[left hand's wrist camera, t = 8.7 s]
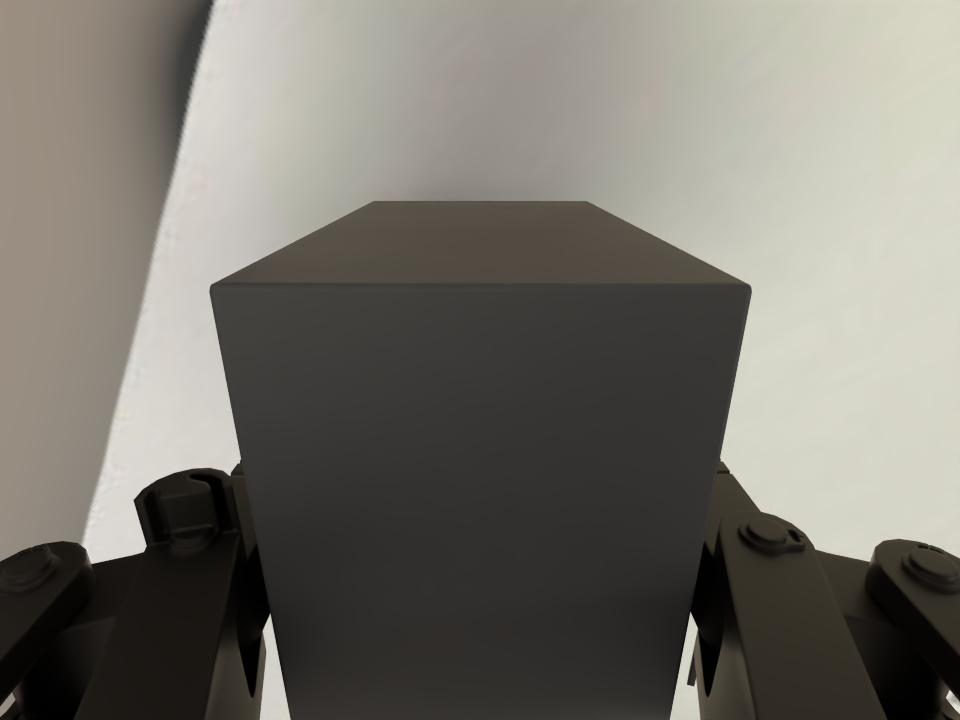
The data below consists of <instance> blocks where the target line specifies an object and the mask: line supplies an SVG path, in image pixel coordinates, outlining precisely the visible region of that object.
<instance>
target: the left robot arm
mask: <svg viewBox="0 0 960 720" xmlns="http://www.w3.org/2000/svg"><path fill="white" fill-rule="evenodd" d="M134 503H135V507H136V510H137V514H138V517H139V521H140V524H141V528H142V531H143V534H144V538H145V541H146V545H147V547H146V549H145V551H144V552H143V553H139V554H136V555H132V556H127V557H123V558H118V559H113V560H109V561H104V562H99V563H94V564H91V563H90V560H89V557H88V554H87V551H86V549H85V548H83V547H82V546H81V545H79V544H78V543H73V542H65V541H61V542H53V543H46V544H41V545H38V546H34V547H32V548H28V549H25V550H22V551H20V552H18V553H16V554H14V555H12V556H10V557H9V558H6V559H5V560H2V561H1V562H0V706H1V705H2V704H3V702H4V701H5V700H6V699H7V697H8V696H9V695H10V694H11V693H13V695H14V697H15V699H16V700H15V701H14V703H13V704H12V705H11V707H10V708H9V709H8V710H7V711H6V712H5V713H4V714H3V715H2V716H1V717H0V720H260V710H261V700H262V690H263V680H264V670H265V660H266V647H265V641H264V636H263V629H264V626H265V624H266V622H267V620H268V617H269V615H270V608H269V603H268V597H267V592H266V587H265V582H264V576H263V571H262V566H261V560H260V555H259V550H258V545H257V539H256V534H255V529H254V524H253V518H252V513H251V508H250V502H249V497H248V492H247V487H246V481H245V476H244V471H243V466H242V460H240V464H237V465H236V467H235V468H234V469H233V471H232V472H231V476H229V475H228V474H226V473H225V472H224V471H221V470H217V469H212V468H198V469H190V470H185V471H181V472H176V473H173V474H171V475H168V476H166V477H164V478H161V479H159V480H157V481H155V482H154V483H152V484H150V485H149V486H147V487H146V488H144V489H143V490H142V491H141V492H140V493H139V495H138V496H137V497H136V498H135V499H134ZM690 612H691V614H692V616H693V618H694V620H695V623H696V625H697V627H698V631H697V636H696V641H695V646H694V651H693V655H692V660H691V665H690V670H689V675H688V682H687V685H691V686H694V685H695V680H696V678H697V688H698V698H699V708H700V718H701V720H960V714H959V713H958V712H957V711H956V710H955V709H954V708H953V707H952V705H951V704H950V703H949V702H948V700H947V699H946V696H947V694H948V692H949V690H951V692H952V693H953V694H954V695H955V696H956V698H957V699H958V700H959V701H960V558H958V557H956V556H954V555H952V554H950V553H948V552H946V551H944V550H942V549H940V548H937V547H935V546H932V545H928V544H925V543H921V542H917V541H910V540H903V539H894V540H886V541H883V542H882V543H880V544H879V545H878V546H876V547H875V550H874V553H873V556H872V558H871V561H870V562H867V561H863V560H858V559H853V558H848V557H844V556H839V555H834V554H830V553H826V552H822V551H818V550H815V548H814V546H813V544H812V543H811V541H810V540H809V539H808V537H807V536H806V534H805V533H803V532H802V531H801V530H799V529H798V528H797V527H796V526H794V525H793V524H792V523H790V522H787V521H785V520H783V519H781V518H779V517H777V516H775V515H771V514H767V513H763V512H761V511H760V510H759V509H758V507H757V506H756V505H755V503H754V502H753V501H752V500H751V498H750V497H749V496H748V494H747V493H746V492H745V490H744V489H743V488H742V486H741V485H740V484H739V482H738V481H737V480H736V478H735V477H734V476H733V475H732V474H730V471H729V469H728V468H727V467H726V465H725V464H724V463H723V462H721V459H720V460H719V465H718V470H717V476H716V481H715V486H714V491H713V496H712V502H711V507H710V512H709V517H708V522H707V528H706V533H705V538H704V543H703V548H702V554H701V559H700V564H699V569H698V574H697V580H696V585H695V590H694V595H693V601H692V606H691V611H690Z"/></svg>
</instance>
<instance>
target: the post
mask: <svg viewBox="0 0 960 720" xmlns="http://www.w3.org/2000/svg"><path fill="white" fill-rule="evenodd" d="M751 293H752V291H751V286H750V285H749V284H747V283H745V282H743V281H741V280H739V279H737V278H735V277H733V276H731V275H729V274H727V273H725V272H723V271H721V270H719V269H718V268H716V267H714V266H712V265H710V264H708V263H706V262H704V261H702V260H700V259H698V258H696V257H694V256H692V255H690V254H688V253H686V252H684V251H682V250H681V249H679V248H677V247H675V246H673V245H671V244H669V243H667V242H665V241H663V240H661V239H659V238H657V237H655V236H653V235H651V234H649V233H647V232H645V231H644V230H642V229H640V228H638V227H636V226H634V225H632V224H630V223H628V222H626V221H624V220H622V219H620V218H618V217H616V216H614V215H612V214H610V213H608V212H606V211H605V210H603V209H601V208H599V207H597V206H595V205H593V204H591V203H589V202H587V201H373V202H371V203H369V204H367V205H366V206H364V207H362V208H360V209H358V210H356V211H354V212H352V213H350V214H348V215H346V216H344V217H342V218H340V219H338V220H336V221H334V222H332V223H331V224H329V225H327V226H325V227H323V228H321V229H319V230H317V231H315V232H313V233H311V234H309V235H307V236H305V237H303V238H301V239H299V240H297V241H295V242H294V243H292V244H290V245H288V246H286V247H284V248H282V249H280V250H278V251H276V252H274V253H272V254H270V255H268V256H266V257H264V258H262V259H260V260H259V261H257V262H255V263H253V264H251V265H249V266H247V267H245V268H243V269H241V270H239V271H237V272H235V273H233V274H231V275H229V276H227V277H225V278H224V279H222V280H220V281H218V282H216V283H214V284H212V285H211V286H210V297H211V302H212V308H213V313H214V318H215V323H216V329H217V334H218V339H219V344H220V350H221V355H222V360H223V366H224V371H225V376H226V381H227V387H228V392H229V397H230V402H231V408H232V413H233V418H234V423H235V429H236V434H237V439H238V445H239V450H240V455H241V460H242V466H243V471H244V476H245V481H246V487H247V492H248V497H249V502H250V508H251V513H252V518H253V524H254V529H255V534H256V539H257V545H258V550H259V555H260V560H261V566H262V571H263V576H264V582H265V587H266V592H267V597H268V603H269V608H270V613H271V618H272V624H273V629H274V634H275V639H276V645H277V650H278V655H279V661H280V666H281V671H282V676H283V682H284V687H285V692H286V697H287V703H288V708H289V713H290V718H291V720H670V715H671V710H672V705H673V699H674V694H675V689H676V684H677V679H678V673H679V668H680V663H681V658H682V653H683V647H684V642H685V637H686V632H687V627H688V621H689V616H690V611H691V606H692V601H693V595H694V590H695V585H696V580H697V574H698V569H699V564H700V559H701V554H702V548H703V543H704V538H705V533H706V528H707V522H708V517H709V512H710V507H711V502H712V496H713V491H714V486H715V481H716V476H717V470H718V465H719V460H720V455H721V449H722V444H723V439H724V434H725V429H726V423H727V418H728V413H729V408H730V403H731V397H732V392H733V387H734V382H735V377H736V371H737V366H738V361H739V356H740V351H741V345H742V340H743V335H744V330H745V324H746V319H747V314H748V309H749V304H750V298H751Z"/></svg>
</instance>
